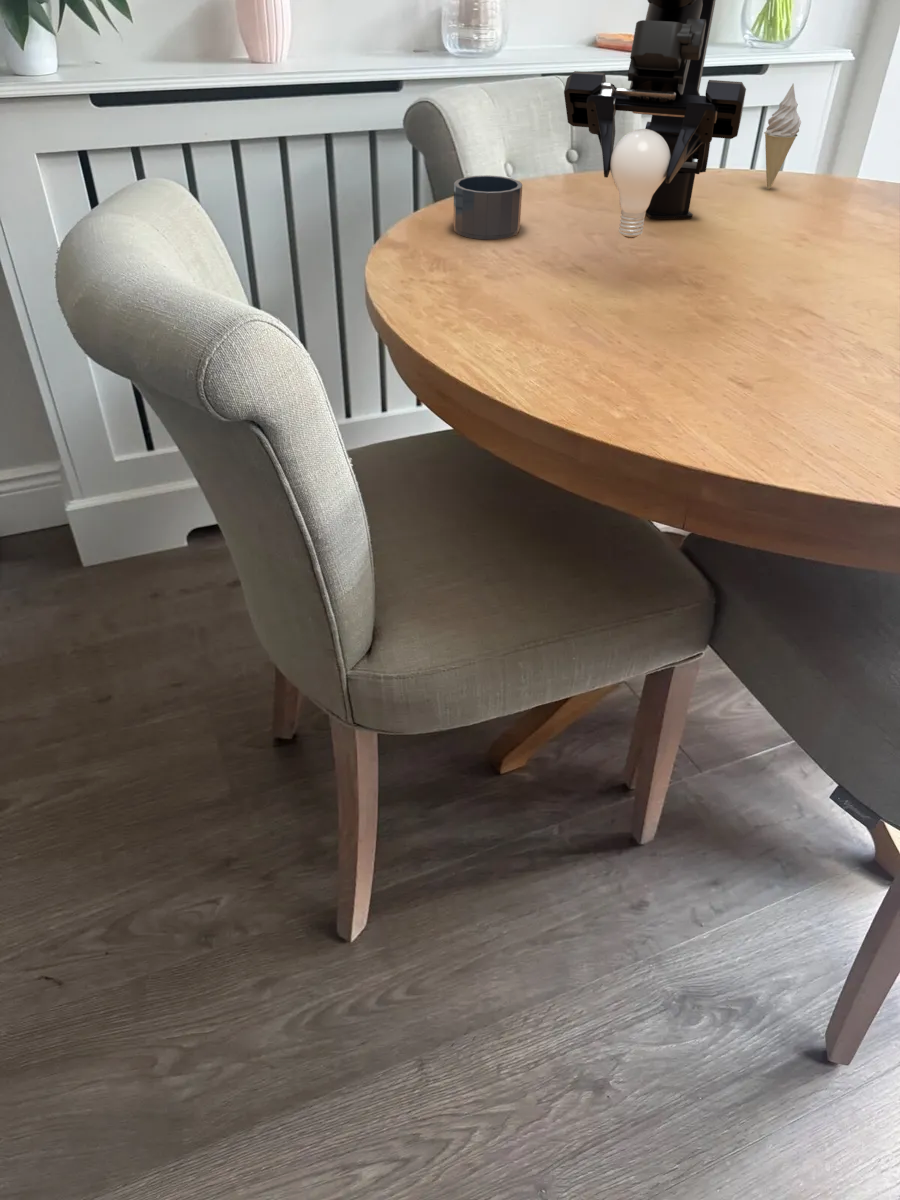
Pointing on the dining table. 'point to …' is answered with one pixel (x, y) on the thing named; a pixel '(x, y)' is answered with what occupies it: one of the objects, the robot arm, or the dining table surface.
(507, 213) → the tube
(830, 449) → the dining table surface
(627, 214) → the lightbulb
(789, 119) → the ice cream cone
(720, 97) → the robot arm
